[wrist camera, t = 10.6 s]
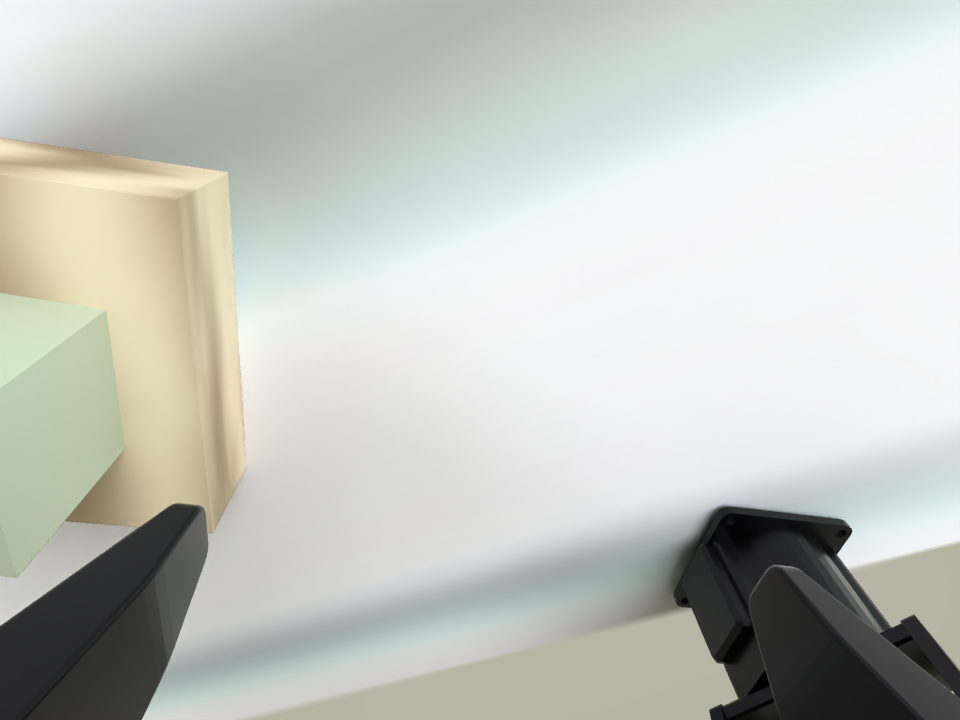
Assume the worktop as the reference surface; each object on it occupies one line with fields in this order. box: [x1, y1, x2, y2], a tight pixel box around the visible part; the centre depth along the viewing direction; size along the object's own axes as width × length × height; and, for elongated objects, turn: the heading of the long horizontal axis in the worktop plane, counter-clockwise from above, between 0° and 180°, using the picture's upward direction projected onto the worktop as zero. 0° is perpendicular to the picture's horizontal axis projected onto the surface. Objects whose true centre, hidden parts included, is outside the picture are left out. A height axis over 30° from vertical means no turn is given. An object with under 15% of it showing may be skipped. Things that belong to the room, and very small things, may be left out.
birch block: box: [0, 138, 246, 533], centre depth 18 cm, size 10×12×4 cm
